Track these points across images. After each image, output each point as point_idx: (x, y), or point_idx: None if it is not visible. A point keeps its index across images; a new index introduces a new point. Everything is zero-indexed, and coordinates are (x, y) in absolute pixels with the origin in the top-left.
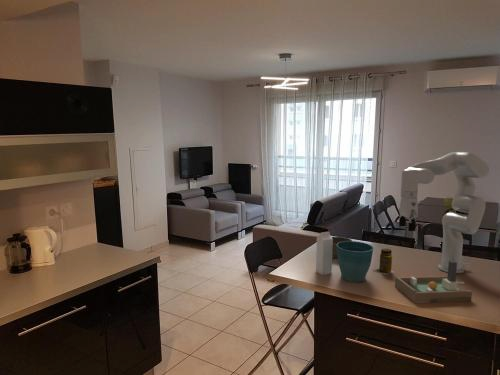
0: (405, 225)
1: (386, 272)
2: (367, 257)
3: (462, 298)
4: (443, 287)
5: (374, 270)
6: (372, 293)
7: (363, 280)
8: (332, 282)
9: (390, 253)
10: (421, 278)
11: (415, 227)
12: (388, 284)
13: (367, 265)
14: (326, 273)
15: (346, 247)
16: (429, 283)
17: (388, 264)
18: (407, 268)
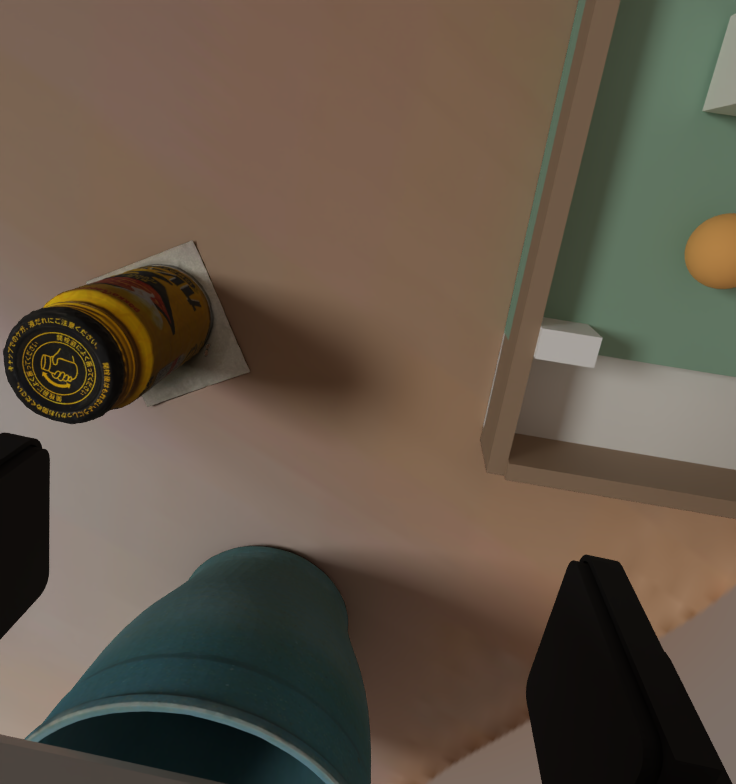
0: (40, 457)
1: (207, 330)
2: (365, 766)
3: None
4: None
5: (149, 398)
6: (537, 640)
7: (337, 590)
8: None
9: (121, 343)
10: (559, 244)
11: (649, 623)
12: (432, 459)
13: (358, 684)
14: None
15: None
16: (719, 285)
17: (185, 338)
18: (116, 41)
